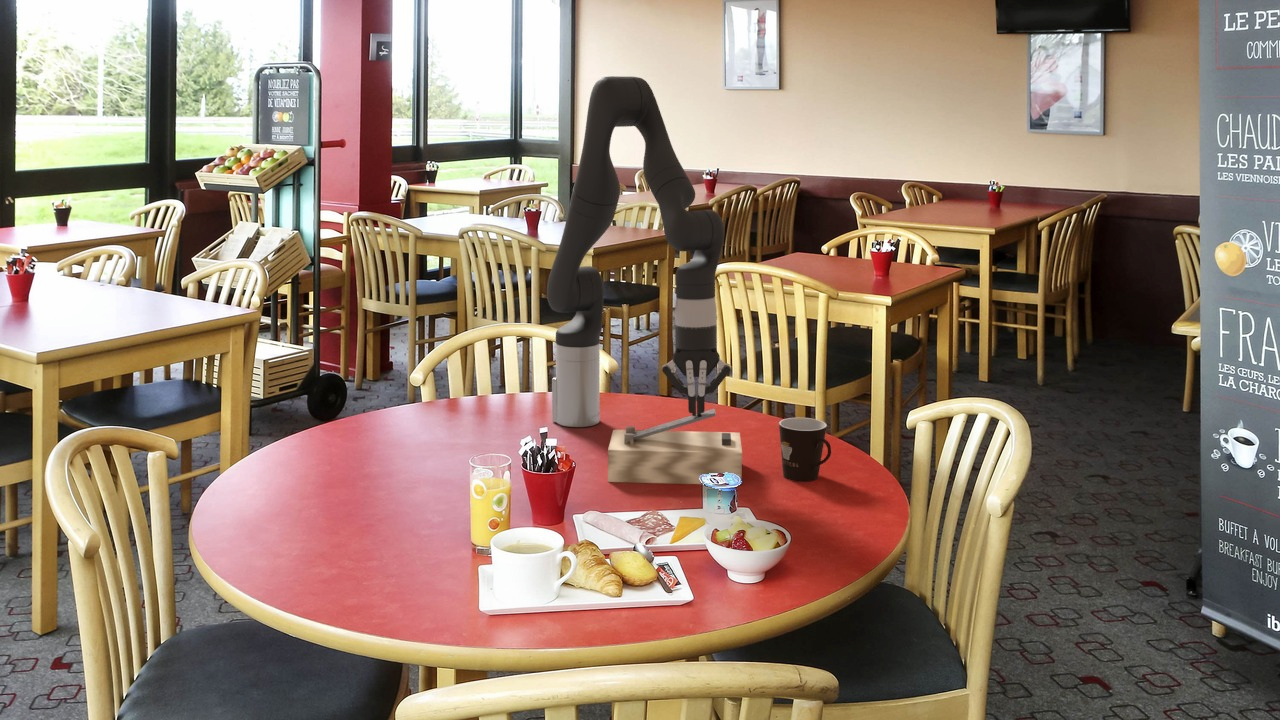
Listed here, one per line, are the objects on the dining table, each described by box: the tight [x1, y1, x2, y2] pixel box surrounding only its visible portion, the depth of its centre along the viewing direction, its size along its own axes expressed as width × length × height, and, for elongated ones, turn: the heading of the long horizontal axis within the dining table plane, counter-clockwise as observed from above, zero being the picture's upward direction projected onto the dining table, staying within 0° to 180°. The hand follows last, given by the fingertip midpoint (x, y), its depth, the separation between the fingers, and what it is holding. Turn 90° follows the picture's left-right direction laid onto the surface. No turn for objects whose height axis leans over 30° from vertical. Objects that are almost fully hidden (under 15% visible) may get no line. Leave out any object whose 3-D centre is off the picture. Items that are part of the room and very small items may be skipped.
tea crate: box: [607, 425, 743, 485], centre depth 213 cm, size 24×13×8 cm, turn 87°
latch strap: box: [633, 408, 717, 441], centre depth 212 cm, size 16×3×1 cm, turn 87°
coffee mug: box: [778, 417, 832, 483], centre depth 210 cm, size 12×9×10 cm
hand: (696, 415), depth 211 cm, fingers closed
